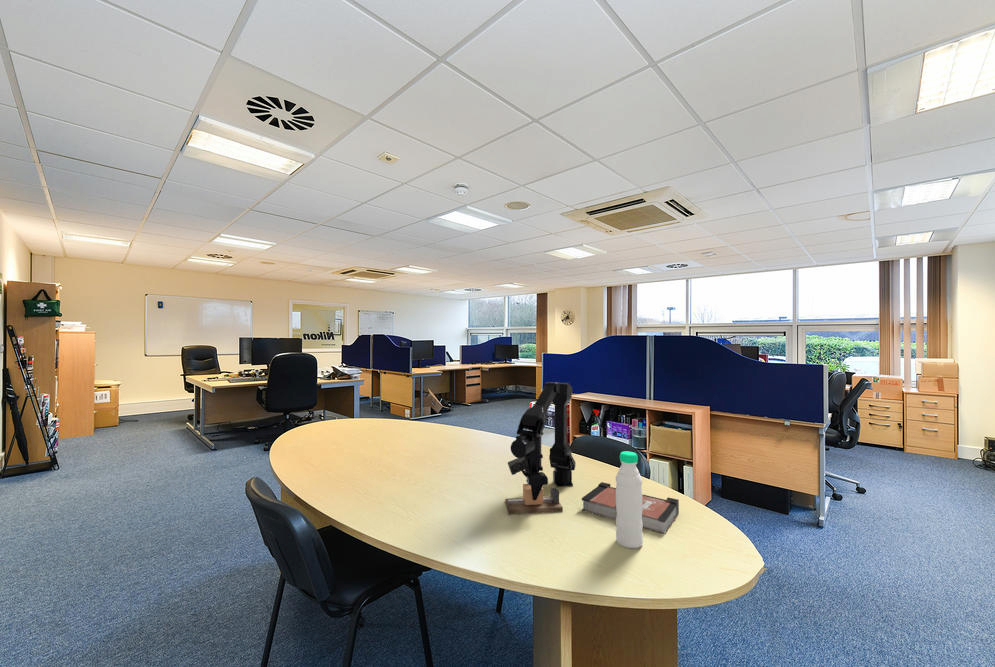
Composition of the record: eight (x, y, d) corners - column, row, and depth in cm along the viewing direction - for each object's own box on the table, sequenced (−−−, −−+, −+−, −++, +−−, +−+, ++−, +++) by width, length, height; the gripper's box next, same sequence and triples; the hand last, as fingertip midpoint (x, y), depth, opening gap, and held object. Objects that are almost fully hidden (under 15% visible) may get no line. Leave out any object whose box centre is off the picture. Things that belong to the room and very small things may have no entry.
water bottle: (629, 552, 105) (628, 458, 105) (610, 540, 111) (610, 451, 111) (648, 545, 108) (647, 454, 108) (628, 534, 114) (628, 448, 115)
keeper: (540, 498, 136) (540, 483, 136) (543, 504, 131) (543, 488, 131) (522, 499, 135) (522, 484, 135) (525, 505, 130) (525, 489, 130)
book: (580, 512, 130) (580, 497, 130) (601, 495, 144) (601, 482, 144) (664, 536, 114) (663, 519, 114) (678, 515, 128) (678, 499, 128)
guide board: (555, 500, 138) (555, 496, 138) (562, 511, 129) (562, 507, 129) (505, 503, 136) (505, 498, 136) (508, 514, 127) (508, 509, 127)
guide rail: (556, 499, 136) (556, 487, 136) (559, 504, 132) (559, 492, 132) (507, 501, 134) (507, 489, 134) (509, 506, 130) (508, 494, 130)
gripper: (505, 443, 142) (506, 487, 141) (513, 459, 123) (513, 509, 123) (536, 443, 143) (536, 486, 143) (548, 458, 124) (548, 508, 124)
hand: (533, 496), depth 133 cm, fingers closed on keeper, 5 cm apart
